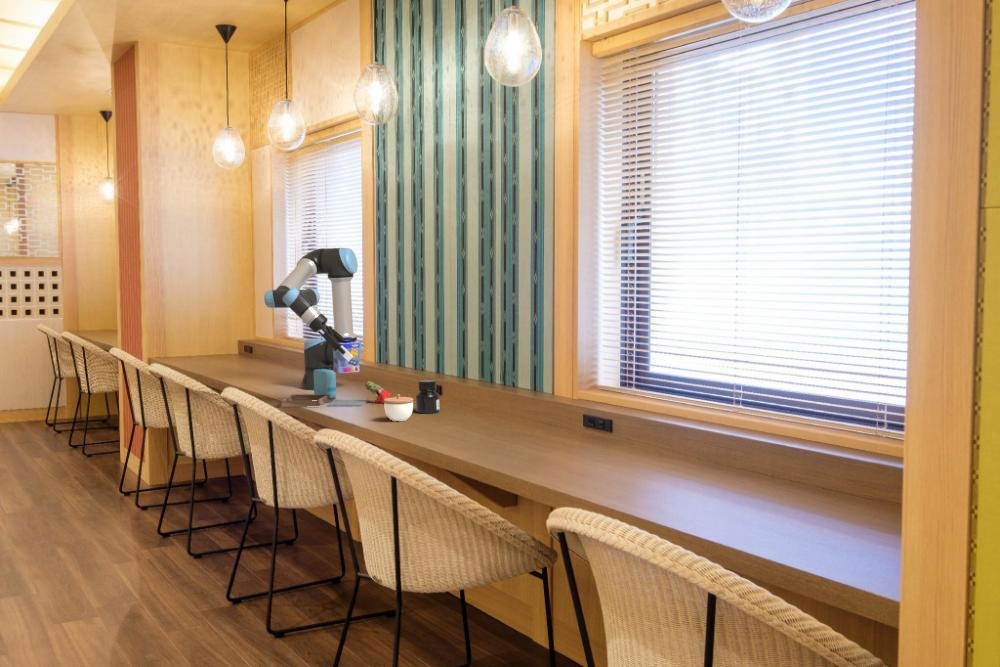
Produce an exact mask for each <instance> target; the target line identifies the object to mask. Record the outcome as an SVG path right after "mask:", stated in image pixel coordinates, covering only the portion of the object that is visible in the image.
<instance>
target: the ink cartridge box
mask: <svg viewBox="0 0 1000 667" xmlns="http://www.w3.org/2000/svg"><path fill="white" fill-rule="evenodd" d="M345 339H350V340H345ZM351 339H352V337H344V338H343V342H340V343H339V344H340V345H342V346H343V347H344V348H345V349H346V350H347V351H348V352H349V353H350V354H351V355H352V356H353V358H352V359H351V360H350V361H349V362H348V361H347V360H346V359H345V358H344V357H343V356H342V355H341V354H340V353H339V352H338V351H337V350H338V349H337V350H336V351H334V349H333V365H332V367H333V371H334V372H335V374H338V375H339V374H350V373H351V374H352V373H360V370H361V369H360V368H361V367H360V360H359V352H360V343H358V342H351Z"/></svg>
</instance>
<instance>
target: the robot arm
mask: <svg viewBox="0 0 1000 667" xmlns="http://www.w3.org/2000/svg"><path fill="white" fill-rule="evenodd" d="M295 266H296V267H294V268H293V270H292V271H290V273H289V274H288V275H287V277H285V278H284V280H283V281H282V282H281V283H280V284H279V285H278V286H277V288H276V289H268V290H266V291H265V293H264V298H263V299H264V304H265V306H266V307H267V308H273V309H279V308H280V309H281V308H282V309H283V308H284V309H285V308H286V309H287V308H289V309H290V310H291V311H292V312H293V313H294V314H295V315H296V316H298V317H299V319H301V320H302V321H301V322H302V323H305V324H306V325H307V326H308V328H310V329H311V330H312V332H314V333H318V334H320V335H321V336H322V337H318V338H312V339H311V338H310V339H306V340H305V341H304V344H303V355H304V356H303V360H304V361H303V362H304V373H303V376H302V380H301V384H300V386H301V387H300V388H301V389H302V390H314V370H318V369H327V370H331V366H333V349H334V351H336V350H337V349H338V350H337V351H338V352H339V353H340V354H341V355H342V356H343V357H344V358H345V359H346V360H347V361H348V362H349V361H350V360H351V359H352V358H353V356H352V355H351V354H350V353H349V352H348V351H347V350H346V349H345V348H344V347H343V346H342V345H340V344H339V343H340V342H343V338H344V337H352V339H351V342H358V343H360V352H359V361H360V360H361V357H362V351H363V344H362V342H361V340H359V339H358V336H357V335H356V334H355V333H354V324H353V323H354V322H353V321H354V320H353V305H352V302H353V301H352V290H351V289H352V287H351V280H352V279H354V275H355V274H356V273H357V271H358V266H359V265H358V260H357V256H356V254H355V252H354V250H353V249H351V248H350V247H349V248H348V247H332V248H331V247H330V248H329V247H328V248H326V247H325V248H317V249H314V250H310V251H309V252H307V253H305V255H303V256H302V257H301V258H300V259H299V260H298V261H297V262H296V264H295ZM322 274H323V275H327V279H328V280H329V281H330V282H331V298H332V314H333V315H332V316H333V327H332V325H328V324H327V322H328V321H329V320H328V317H326V315H324V314H323V313H321V311H320V310H319V308H317V307H316V305H317V304H319V302H320V299H321V296H320V293H319V291H318V290H317V289H316V288H313V287H312V288H311V287H309V288H305V289H301V288H302V287H303V286H304V285H305V284H306V282H307V281H308V280H309V279H311V278H313V277H314V276H316V275H322ZM345 340H350V339H345Z"/></svg>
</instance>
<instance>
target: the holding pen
mask: <svg viewBox="0 0 1000 667" xmlns="http://www.w3.org/2000/svg"><path fill="white" fill-rule="evenodd" d="M312 400H317V401H312ZM329 400H330V401H331V399H330V395H314V394H291V395H290V396H287V397H285V398H283V399H281V400H279V401H278V407H279V408H308V407H307V406H320V405H321V406H323V405H325V404H327V403H328V402H330V401H329ZM324 403H325V404H324ZM322 404H323V405H322ZM321 406H320V407H321Z"/></svg>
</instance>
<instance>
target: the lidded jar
mask: <svg viewBox="0 0 1000 667" xmlns="http://www.w3.org/2000/svg"><path fill="white" fill-rule="evenodd" d="M383 408H384V413H385V415H386V417H387V418H389V419H388V420H390V421H391V420H392V421H391V422H396V421H399V422H406V421H408V419H409V418H410V417H411V415H412V413H413V411H414V398H413V397H408V396H401V394H400V393H399V394H396V396H394V397H389V398H386V399H384V403H383Z"/></svg>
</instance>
